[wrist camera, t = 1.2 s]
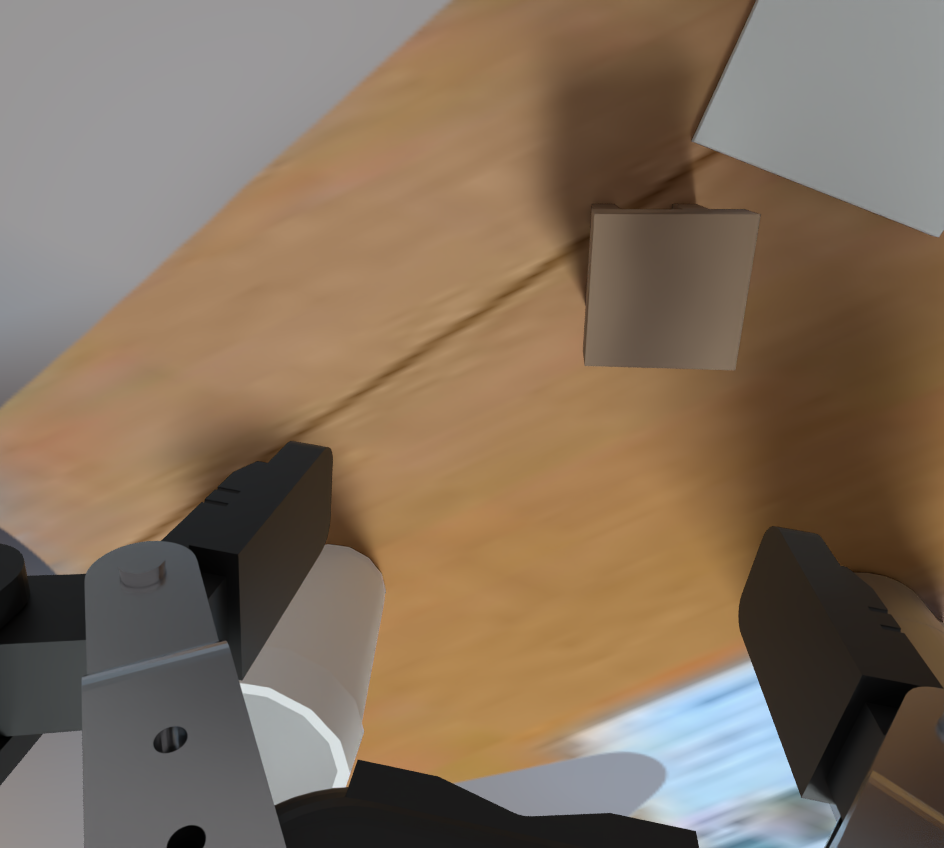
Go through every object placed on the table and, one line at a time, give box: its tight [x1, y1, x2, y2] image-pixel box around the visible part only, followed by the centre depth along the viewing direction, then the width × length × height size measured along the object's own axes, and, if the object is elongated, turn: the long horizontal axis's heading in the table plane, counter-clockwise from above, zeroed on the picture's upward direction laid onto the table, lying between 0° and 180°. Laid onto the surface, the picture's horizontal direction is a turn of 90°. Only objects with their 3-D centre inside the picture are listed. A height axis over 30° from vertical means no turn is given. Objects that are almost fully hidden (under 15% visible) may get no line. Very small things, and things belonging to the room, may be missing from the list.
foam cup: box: [239, 544, 386, 805], centre depth 36 cm, size 10×9×13 cm
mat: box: [692, 0, 944, 237], centre depth 26 cm, size 12×12×1 cm
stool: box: [583, 204, 761, 370], centre depth 27 cm, size 6×6×9 cm
